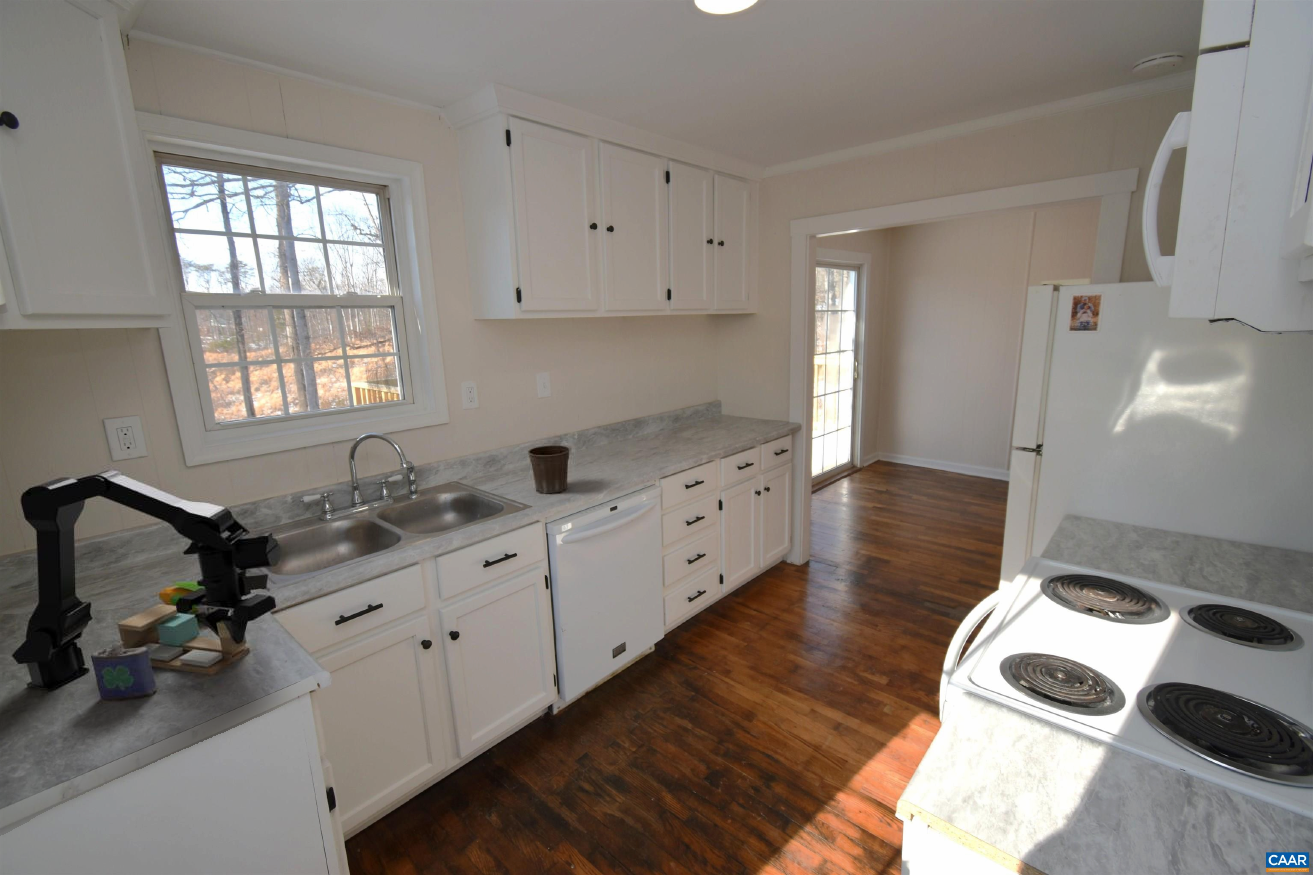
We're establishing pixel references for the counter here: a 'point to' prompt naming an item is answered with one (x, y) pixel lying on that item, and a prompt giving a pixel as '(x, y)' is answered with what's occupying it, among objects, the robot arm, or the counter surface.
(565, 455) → the plant pot
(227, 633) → the strip
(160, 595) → the corn
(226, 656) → the board
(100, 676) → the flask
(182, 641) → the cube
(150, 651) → the strip
